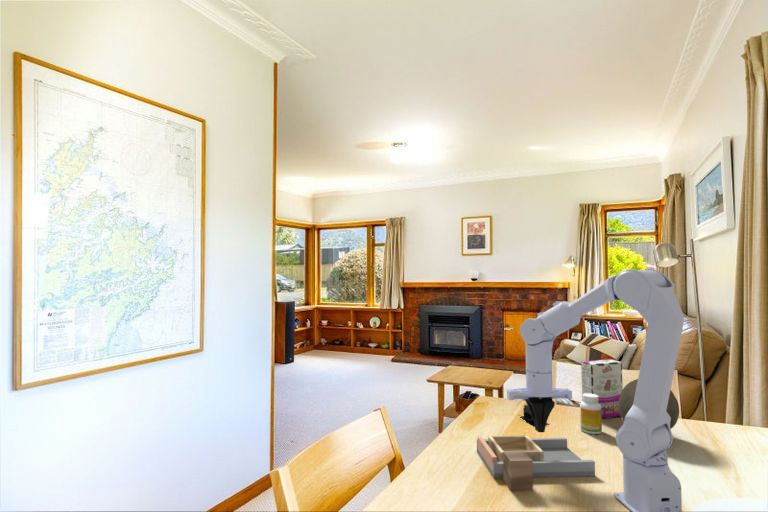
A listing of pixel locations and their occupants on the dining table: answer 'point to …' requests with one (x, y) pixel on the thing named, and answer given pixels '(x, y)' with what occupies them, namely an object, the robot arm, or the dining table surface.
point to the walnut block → (518, 471)
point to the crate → (514, 446)
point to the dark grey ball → (628, 400)
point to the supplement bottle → (590, 414)
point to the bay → (554, 465)
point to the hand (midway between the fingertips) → (539, 430)
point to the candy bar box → (603, 384)
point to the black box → (528, 416)
